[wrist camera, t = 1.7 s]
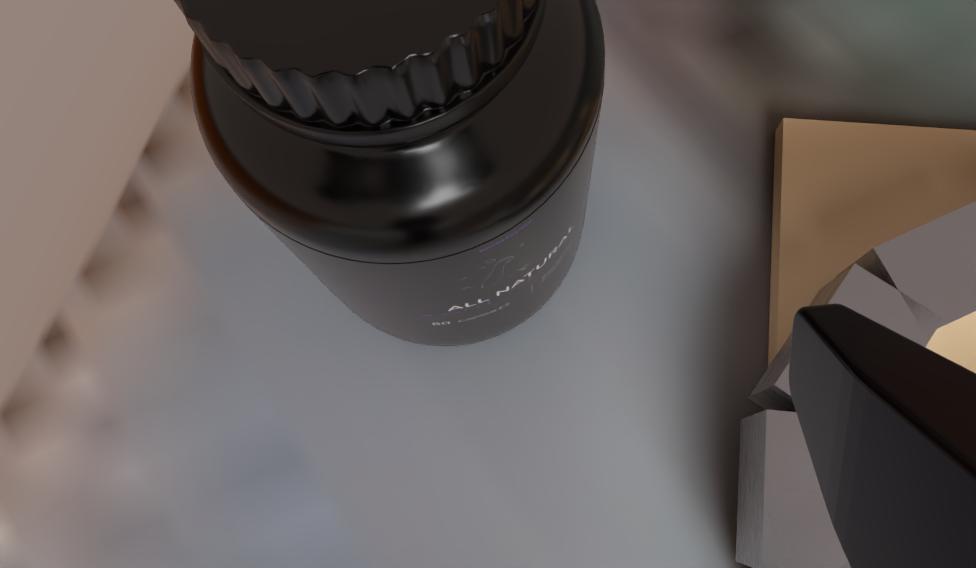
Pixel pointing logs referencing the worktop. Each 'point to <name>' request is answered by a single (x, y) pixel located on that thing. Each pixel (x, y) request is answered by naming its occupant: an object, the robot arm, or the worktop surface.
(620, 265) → the worktop surface
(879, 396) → the robot arm
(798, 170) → the oak board
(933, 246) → the steel ring
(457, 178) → the supplement bottle
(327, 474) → the worktop surface
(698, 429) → the worktop surface
